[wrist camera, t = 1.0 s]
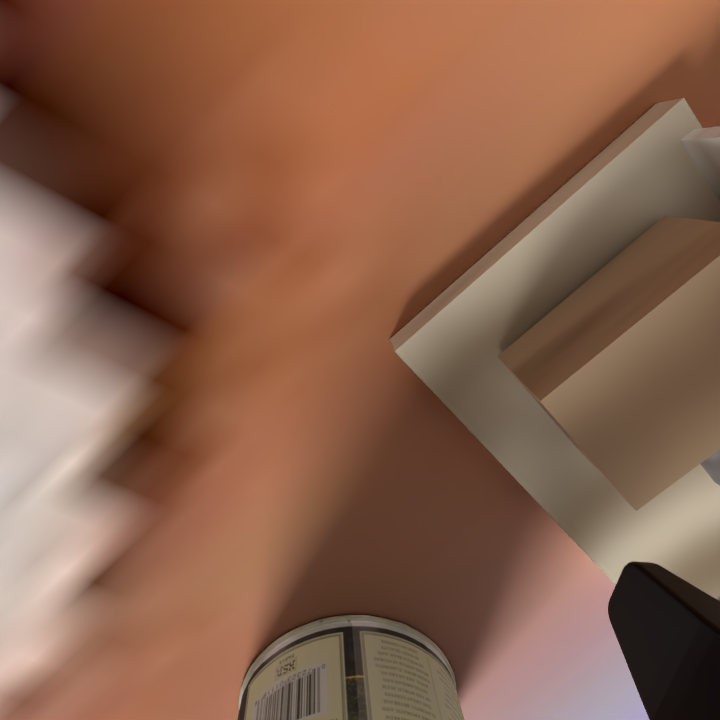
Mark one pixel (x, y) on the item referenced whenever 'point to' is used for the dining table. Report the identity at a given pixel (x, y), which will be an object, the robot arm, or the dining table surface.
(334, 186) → the dining table surface
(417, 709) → the coffee can
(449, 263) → the dining table surface
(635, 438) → the gauge carriage
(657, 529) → the base
